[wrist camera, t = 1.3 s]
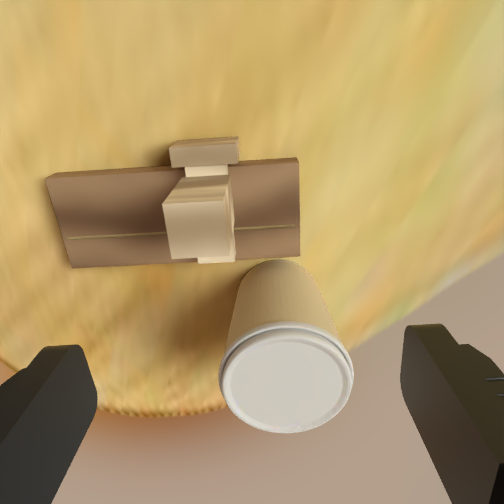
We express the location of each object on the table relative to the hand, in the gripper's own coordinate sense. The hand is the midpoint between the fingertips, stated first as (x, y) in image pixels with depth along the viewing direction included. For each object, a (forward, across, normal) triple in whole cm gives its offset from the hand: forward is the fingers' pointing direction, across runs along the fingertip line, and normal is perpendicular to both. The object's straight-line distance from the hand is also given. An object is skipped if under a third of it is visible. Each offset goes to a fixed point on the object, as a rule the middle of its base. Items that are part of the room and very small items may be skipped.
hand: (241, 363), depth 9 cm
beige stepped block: (+23, +3, +2) cm, 24 cm away
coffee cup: (+24, -1, +12) cm, 27 cm away
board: (+24, +6, +3) cm, 25 cm away
